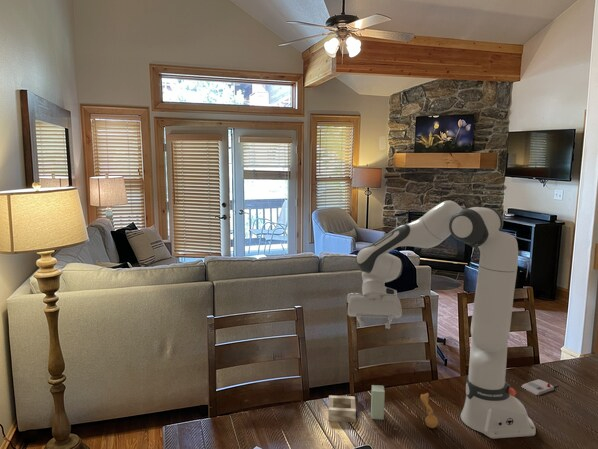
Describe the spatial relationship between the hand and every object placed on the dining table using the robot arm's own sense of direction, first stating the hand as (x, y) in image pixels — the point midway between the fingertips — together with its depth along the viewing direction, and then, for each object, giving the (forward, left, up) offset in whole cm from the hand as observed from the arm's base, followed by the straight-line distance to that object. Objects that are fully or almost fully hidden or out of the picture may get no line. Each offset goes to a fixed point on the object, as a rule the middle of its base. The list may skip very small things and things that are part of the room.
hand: (374, 327), depth 162 cm
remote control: (-63, -7, -26) cm, 69 cm away
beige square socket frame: (+12, +17, -25) cm, 32 cm away
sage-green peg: (0, +17, -25) cm, 30 cm away
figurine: (-16, +22, -25) cm, 37 cm away
